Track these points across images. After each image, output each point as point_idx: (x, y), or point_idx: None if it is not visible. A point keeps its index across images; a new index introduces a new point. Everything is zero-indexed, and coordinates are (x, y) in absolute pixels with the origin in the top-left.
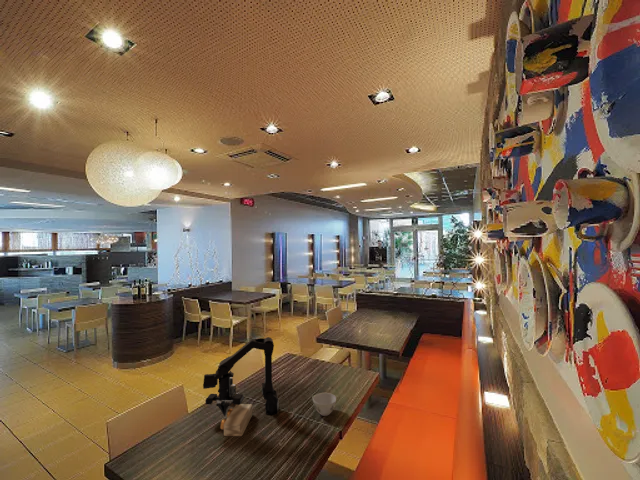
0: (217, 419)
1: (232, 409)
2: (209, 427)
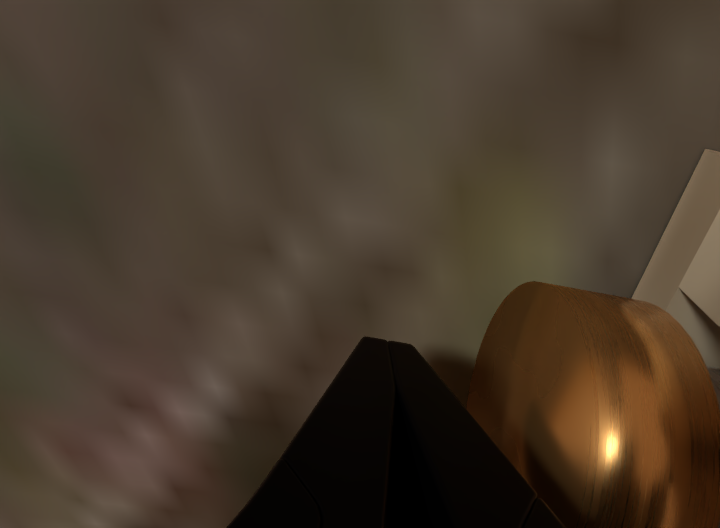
0: (169, 290)
1: (703, 436)
2: (104, 511)
